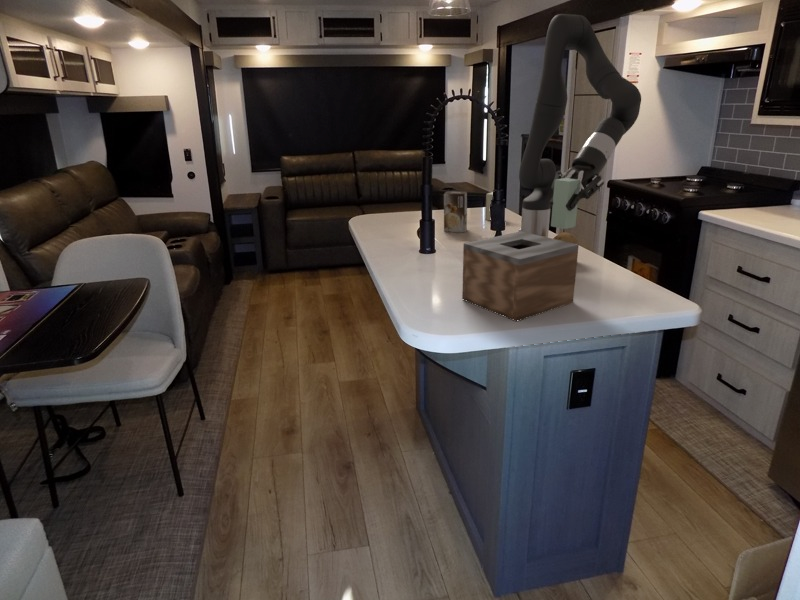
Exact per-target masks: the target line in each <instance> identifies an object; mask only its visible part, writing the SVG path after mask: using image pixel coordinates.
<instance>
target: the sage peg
mask: <svg viewBox="0 0 800 600" xmlns="http://www.w3.org/2000/svg"><path fill="white" fill-rule="evenodd" d="M579 182H580V180H577V179H570V178H563V179H556V180H555V183H554V195H553V207H552V206H551V208H552V209H551V221H550V227H553V228H559V229H561V230H567V229H571V228H575V227H577V226H576V225H577V224H576V223H577V215H578V207H579V205H578V204H579V202H578V203H577V205H576V206H575V208H574V209H572V210H571V211H569V210H568V209H567V208H566V204H567V203H568V201H569V200H570V198H571V197H572V195H573V194H575V190H576V189H577V185H578V183H579Z"/></svg>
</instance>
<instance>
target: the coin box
mask: <svg viewBox="0 0 800 600" xmlns="http://www.w3.org/2000/svg"><path fill="white" fill-rule="evenodd" d="M579 246H580V245H579V243H578V244H574V243H569V242H565V241H560V240H556V239H553V238H551V237H548V238H547V237H543V236H539V235H534V234H530V233H525V232H521V231H520V232H519V231H516V232H512V233H506V234H503V235H502V234H501V235H498V236H492V237H488V238H484V239H478V240H474V241H470V242H469V241H468V242H464V243H463V248H462V249H463V250H462V252H463V256H462V259H463V260H462V261H463V262H462V292H461V293H462V295H461V296H462V297H461V299H464V300H467V301H469V302H471V303H470V304H472V303H473V304H472V305H474V304H476V305H478V306H477V307H479V306H481V307H483V309H484V308H486V309H488V310H487V311H489V310H491V311H493V312H492V313H494V312H496V313H498V314H497V315H499V314H501V315H504V316H506V317H508V318H507V319H509V318H511V319H514V320H516V321H515V322H518V321H517V320H519V321H521V320H520V319H522V320H525V319H527V318H526V317H528V318H530V317H529V316H531V317H534V316H537V315H539V313H540V314H542V312H543V313H545V311H546V312H549V311H552V310H555V309H557V307H558V308H561V307H563V305H564V306H566V304H567V305H570V304H572V303H574V298H575V297H574V296H575V295H574V294H575V285H576V278H577V277H576V275H577V264H578V255H579ZM464 300H463V301H464ZM467 301H466V302H467ZM469 302H468V303H469ZM476 305H475V306H476ZM560 306H561V307H560ZM481 307H480V308H481ZM554 308H555V309H554ZM486 309H485V310H486ZM551 309H552V310H551ZM548 310H549V311H548ZM491 311H490V312H491ZM496 313H495V314H496ZM536 314H537V315H536ZM501 315H500V316H501ZM533 315H534V316H533ZM504 316H503V317H504ZM506 317H505V318H506ZM524 318H525V319H524ZM511 319H510V320H511ZM514 320H513V321H514Z"/></svg>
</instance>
